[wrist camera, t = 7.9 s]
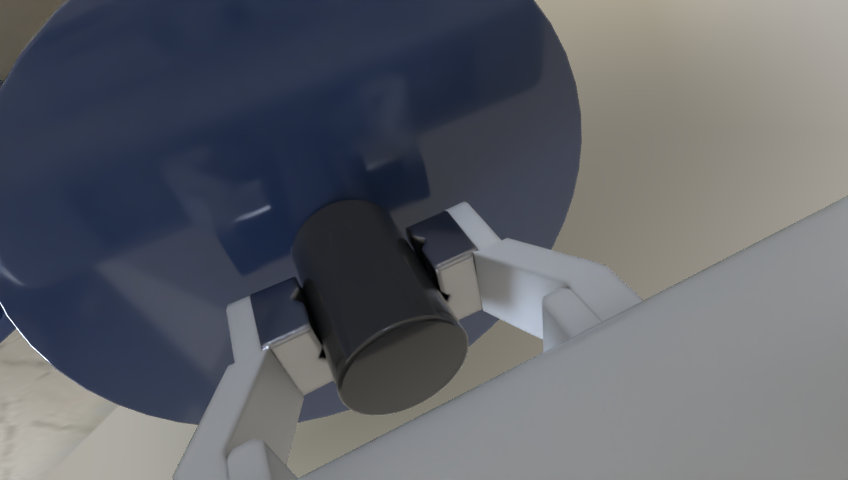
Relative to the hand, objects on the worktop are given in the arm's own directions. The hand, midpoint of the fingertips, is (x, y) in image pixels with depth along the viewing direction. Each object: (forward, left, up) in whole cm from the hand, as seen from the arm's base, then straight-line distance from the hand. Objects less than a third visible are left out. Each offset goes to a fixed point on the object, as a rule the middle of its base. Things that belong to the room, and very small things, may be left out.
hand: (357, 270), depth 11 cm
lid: (0, 0, -2) cm, 2 cm away
